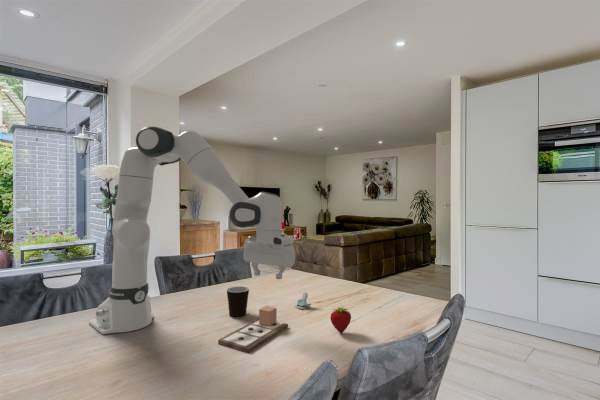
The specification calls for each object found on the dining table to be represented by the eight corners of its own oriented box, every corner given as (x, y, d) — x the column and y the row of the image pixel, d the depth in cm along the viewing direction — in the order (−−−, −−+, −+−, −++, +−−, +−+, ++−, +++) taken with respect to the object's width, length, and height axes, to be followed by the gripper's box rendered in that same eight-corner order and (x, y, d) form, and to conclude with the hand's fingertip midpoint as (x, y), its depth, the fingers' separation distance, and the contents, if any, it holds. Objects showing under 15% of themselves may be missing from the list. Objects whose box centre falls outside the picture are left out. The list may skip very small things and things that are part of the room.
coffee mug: (243, 319, 118) (244, 293, 118) (222, 317, 120) (222, 291, 120) (254, 309, 130) (254, 285, 130) (234, 307, 131) (235, 283, 131)
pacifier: (300, 311, 128) (313, 308, 131) (299, 296, 128) (312, 293, 131) (292, 306, 135) (304, 303, 138) (292, 291, 135) (304, 289, 138)
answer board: (218, 343, 98) (218, 338, 98) (260, 320, 117) (260, 316, 117) (248, 353, 92) (248, 347, 92) (287, 327, 111) (287, 322, 111)
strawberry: (326, 331, 108) (326, 302, 108) (344, 328, 111) (345, 299, 111) (336, 338, 102) (336, 307, 102) (354, 334, 106) (355, 304, 106)
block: (259, 323, 110) (259, 309, 110) (266, 319, 114) (266, 305, 114) (269, 326, 108) (269, 311, 108) (276, 321, 112) (276, 307, 112)
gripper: (240, 236, 113) (239, 274, 113) (288, 240, 103) (287, 282, 103) (251, 235, 119) (250, 271, 119) (297, 239, 109) (296, 279, 109)
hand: (267, 277), depth 111 cm, fingers open, 8 cm apart
